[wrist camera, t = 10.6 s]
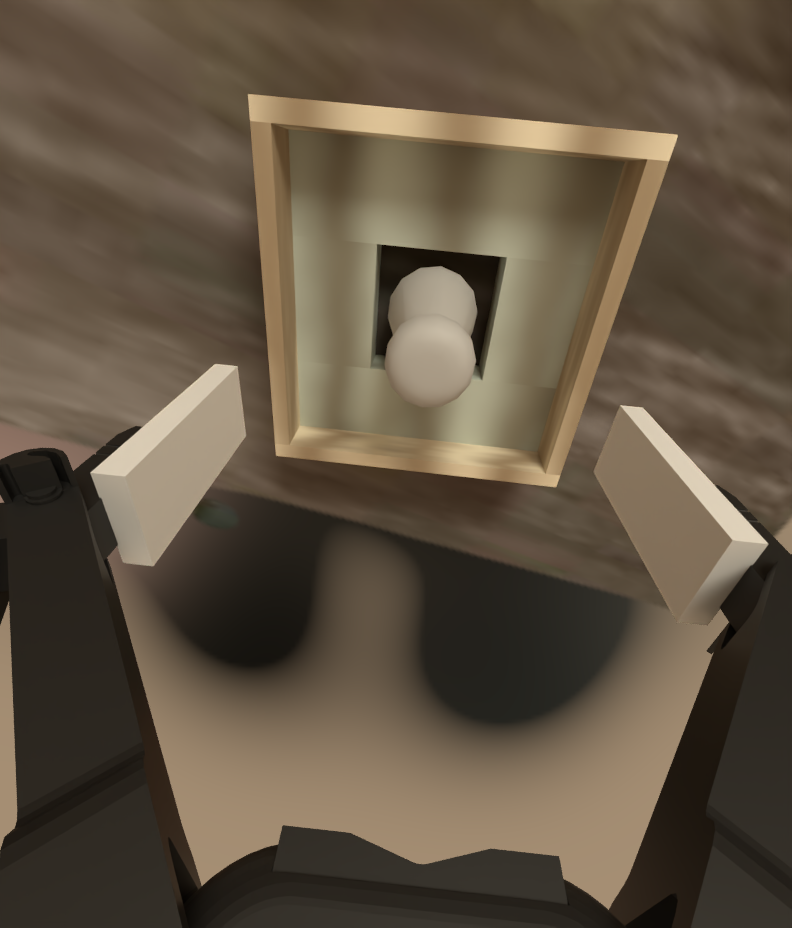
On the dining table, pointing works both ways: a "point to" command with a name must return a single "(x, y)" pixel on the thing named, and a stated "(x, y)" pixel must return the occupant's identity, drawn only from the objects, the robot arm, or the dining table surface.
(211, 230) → the dining table surface
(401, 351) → the salt shaker
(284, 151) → the insert box
